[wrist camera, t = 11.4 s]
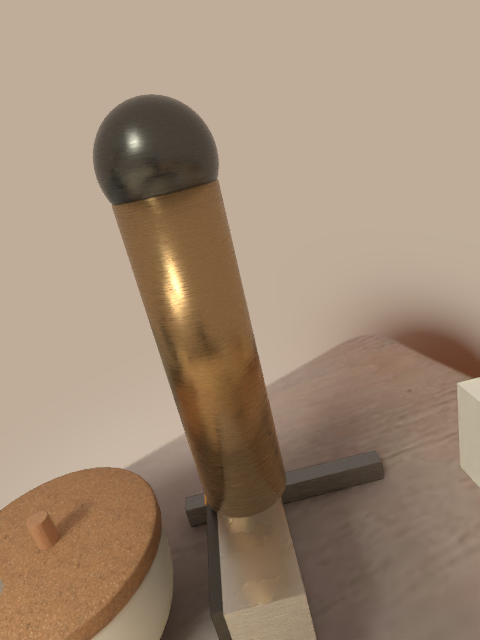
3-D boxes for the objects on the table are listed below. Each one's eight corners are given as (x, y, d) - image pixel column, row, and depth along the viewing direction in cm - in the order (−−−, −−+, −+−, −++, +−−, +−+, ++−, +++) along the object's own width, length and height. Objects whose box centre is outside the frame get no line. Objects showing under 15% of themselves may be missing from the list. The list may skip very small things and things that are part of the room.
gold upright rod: (251, 743, 18) (-2, 76, 9) (229, 519, 29) (110, 126, 20) (352, 717, 18) (205, 28, 9) (291, 503, 29) (200, 105, 20)
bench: (-197, 924, 16) (-397, 789, 12) (-11, 564, 30) (-78, 454, 27) (536, 731, 16) (548, 548, 13) (377, 466, 31) (361, 346, 27)
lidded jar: (99, 541, 30) (49, 435, 27) (228, 580, 25) (188, 456, 22) (-46, 716, 21) (-145, 593, 18) (108, 831, 16) (10, 688, 13)
